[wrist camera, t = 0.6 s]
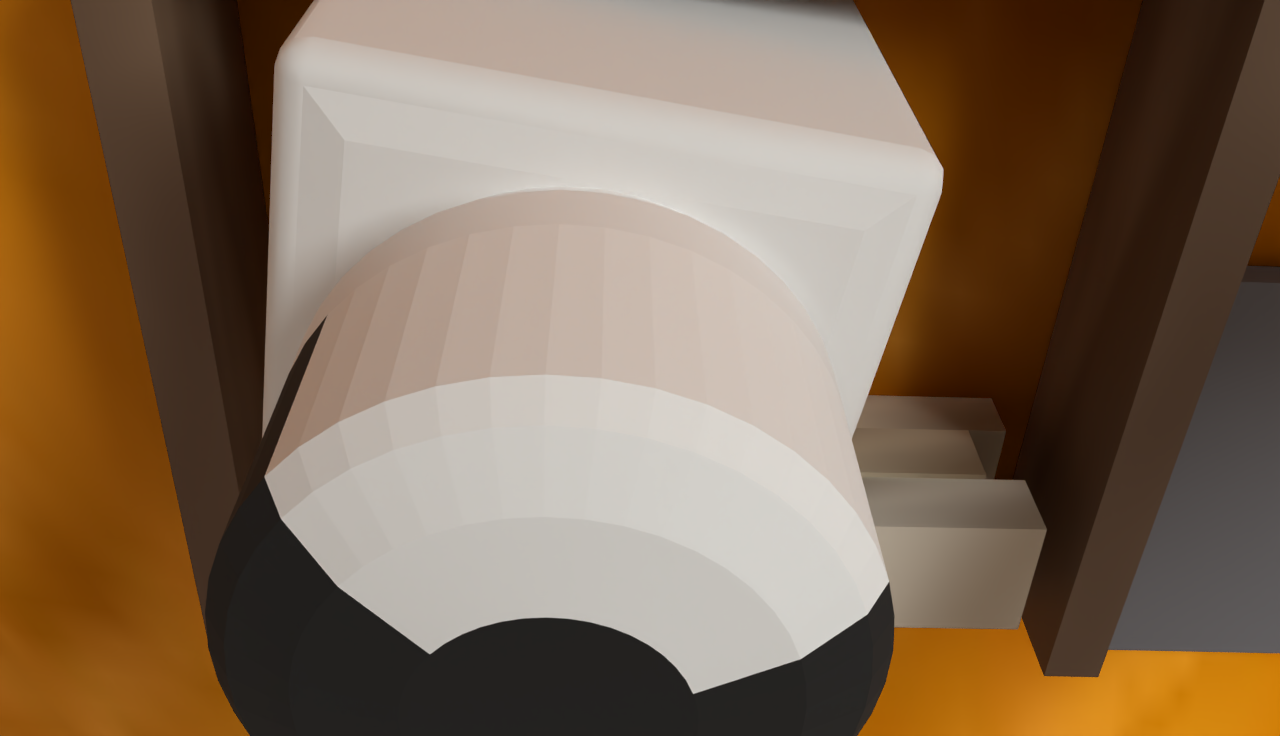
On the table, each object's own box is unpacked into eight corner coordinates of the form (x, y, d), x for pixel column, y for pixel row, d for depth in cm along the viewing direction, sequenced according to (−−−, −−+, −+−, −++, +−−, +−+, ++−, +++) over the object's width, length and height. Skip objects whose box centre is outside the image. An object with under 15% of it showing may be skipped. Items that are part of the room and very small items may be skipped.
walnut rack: (1247, -136, 18) (1371, -78, 15) (1042, 547, 25) (1098, 676, 22) (140, -185, 17) (41, -134, 14) (260, 529, 25) (211, 659, 22)
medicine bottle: (742, 358, 22) (839, 996, 12) (352, 296, 22) (122, 926, 12) (852, -25, 19) (1122, 452, 9) (385, -119, 18) (83, 290, 8)
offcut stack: (988, 390, 23) (1048, 524, 20) (964, 488, 25) (1017, 628, 21) (335, 375, 23) (288, 510, 20) (348, 476, 24) (306, 618, 21)
